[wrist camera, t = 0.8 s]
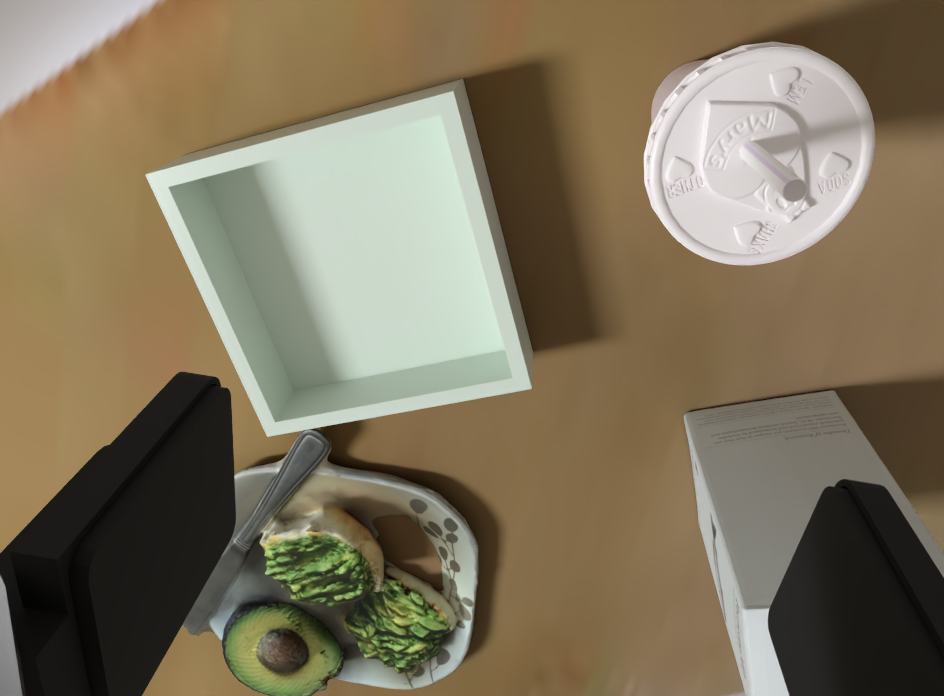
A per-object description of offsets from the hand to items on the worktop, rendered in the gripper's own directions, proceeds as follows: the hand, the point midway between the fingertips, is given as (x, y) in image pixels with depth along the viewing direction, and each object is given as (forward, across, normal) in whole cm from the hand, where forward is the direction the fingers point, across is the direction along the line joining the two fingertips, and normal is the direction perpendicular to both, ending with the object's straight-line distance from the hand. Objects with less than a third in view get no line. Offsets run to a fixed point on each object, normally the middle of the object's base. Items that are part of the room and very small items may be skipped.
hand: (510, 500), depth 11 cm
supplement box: (+22, -14, +13) cm, 29 cm away
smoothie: (+22, -6, -3) cm, 24 cm away
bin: (+22, +7, +5) cm, 24 cm away
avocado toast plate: (+23, +8, +26) cm, 36 cm away
